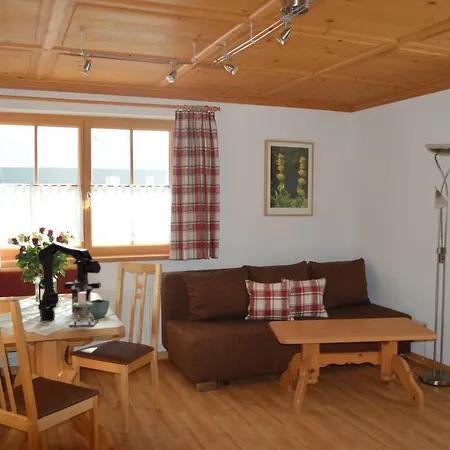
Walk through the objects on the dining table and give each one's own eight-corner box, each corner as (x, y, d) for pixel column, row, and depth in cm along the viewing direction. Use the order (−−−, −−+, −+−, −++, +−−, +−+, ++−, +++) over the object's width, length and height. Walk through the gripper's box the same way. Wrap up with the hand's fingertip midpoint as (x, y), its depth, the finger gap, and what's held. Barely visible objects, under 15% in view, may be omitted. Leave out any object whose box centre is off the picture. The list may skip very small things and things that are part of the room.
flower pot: (99, 318, 312) (98, 303, 312) (87, 317, 317) (87, 301, 316) (109, 316, 320) (109, 300, 319) (98, 314, 324) (98, 299, 324)
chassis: (68, 326, 293) (68, 320, 292) (75, 321, 306) (74, 314, 305) (93, 326, 293) (93, 320, 293) (98, 321, 306) (98, 314, 306)
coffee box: (71, 313, 325) (71, 286, 325) (79, 311, 331) (79, 285, 330) (83, 315, 321) (83, 287, 320) (90, 313, 327) (90, 286, 326)
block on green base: (71, 307, 293) (70, 294, 293) (75, 303, 303) (75, 291, 303) (89, 307, 293) (89, 293, 293) (94, 303, 303) (94, 290, 303)
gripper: (60, 274, 290) (61, 304, 290) (96, 274, 290) (96, 303, 290) (66, 272, 301) (67, 300, 301) (100, 271, 301) (101, 300, 302)
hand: (82, 301), depth 298 cm, fingers closed on block on green base, 4 cm apart
